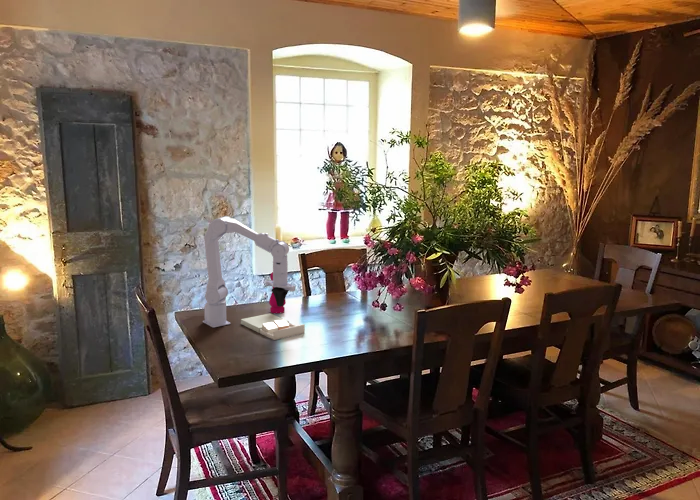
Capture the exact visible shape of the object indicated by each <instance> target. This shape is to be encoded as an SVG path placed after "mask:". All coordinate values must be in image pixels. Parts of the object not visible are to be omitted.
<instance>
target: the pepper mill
mask: <svg viewBox="0 0 700 500" xmlns="http://www.w3.org/2000/svg"><path fill="white" fill-rule="evenodd" d="M270 280H271V281H273V271H272V272H271V273H270ZM272 289H274V287H272ZM286 302H287V301H286V299H285V300H284V304H283V306H281V307H279V306H277V302H276V299H275V296H274V294H273V292H272V291H271V295H270V297H269V301H268V303H269V305H270V306H271V307H270V308H269V309H270V310H269V311H270V313H271V314H282V313H285V305H286Z"/></svg>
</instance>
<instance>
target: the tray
mask: <svg viewBox="0 0 700 500" xmlns="http://www.w3.org/2000/svg"><path fill="white" fill-rule="evenodd" d="M288 324H289V328H285V329H281V330H277V331H273V333H271V334H269V333H267V332H265V331H264V330H263V329H260V333H259V334H260V335H263V336H265V337H267V338H269V339H270V340H273V341H277V340H282V339H286V338H290V337H294V336H297V335H298V336H299V335H302V334H305V327H306V326H305V325H306V324H304V323H303V324H299V325H296V324H293V323H290V322H289V323H288Z"/></svg>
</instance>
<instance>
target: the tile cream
mask: <svg viewBox="0 0 700 500" xmlns="http://www.w3.org/2000/svg"><path fill="white" fill-rule="evenodd" d="M262 329H263V330H264V331H265V332H267V333H269V334H271V333H273V331H277V330H278V327H277V326H276V325H275V324H274V323H273V322H270V323H265V324H262Z"/></svg>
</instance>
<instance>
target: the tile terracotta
mask: <svg viewBox="0 0 700 500" xmlns="http://www.w3.org/2000/svg"><path fill="white" fill-rule="evenodd" d="M285 320H286V319H285ZM285 320H278V321H274V324H275V325H276V326H277V327H278V330H281V329H285V328H289V324H288V323H287V322H286V321H285Z"/></svg>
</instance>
